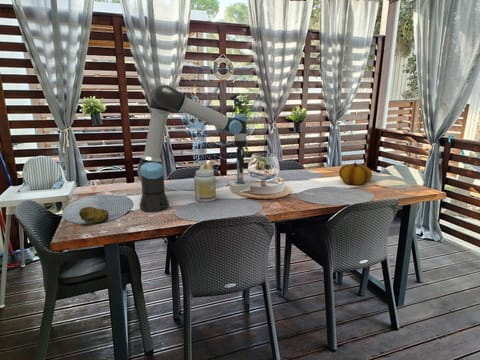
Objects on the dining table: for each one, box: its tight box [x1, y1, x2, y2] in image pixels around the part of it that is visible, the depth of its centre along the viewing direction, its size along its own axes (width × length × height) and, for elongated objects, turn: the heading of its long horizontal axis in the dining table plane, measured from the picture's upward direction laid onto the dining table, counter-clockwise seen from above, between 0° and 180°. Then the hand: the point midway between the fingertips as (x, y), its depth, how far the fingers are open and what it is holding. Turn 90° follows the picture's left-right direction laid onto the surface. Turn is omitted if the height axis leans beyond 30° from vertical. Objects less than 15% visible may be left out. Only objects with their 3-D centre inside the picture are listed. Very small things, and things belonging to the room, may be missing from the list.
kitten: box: [198, 160, 215, 171], centre depth 221 cm, size 15×10×15 cm
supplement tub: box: [193, 168, 217, 203], centre depth 188 cm, size 12×12×17 cm
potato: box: [78, 206, 109, 224], centre depth 155 cm, size 8×13×8 cm, turn 120°
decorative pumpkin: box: [338, 161, 373, 186], centre depth 224 cm, size 20×22×15 cm
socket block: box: [229, 179, 252, 194], centre depth 208 cm, size 12×12×4 cm
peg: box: [236, 160, 244, 184], centre depth 206 cm, size 4×4×14 cm
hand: (240, 176), depth 206 cm, fingers closed on peg, 4 cm apart
